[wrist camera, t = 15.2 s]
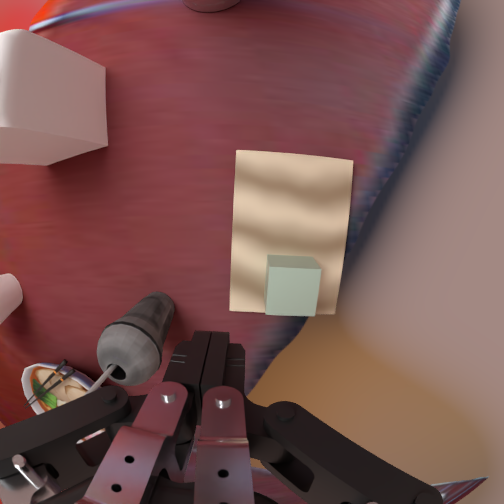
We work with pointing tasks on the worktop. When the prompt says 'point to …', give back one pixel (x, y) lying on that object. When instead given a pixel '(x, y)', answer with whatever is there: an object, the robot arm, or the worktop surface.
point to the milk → (48, 101)
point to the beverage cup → (135, 342)
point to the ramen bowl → (54, 387)
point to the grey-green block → (291, 285)
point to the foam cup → (9, 295)
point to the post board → (288, 221)
